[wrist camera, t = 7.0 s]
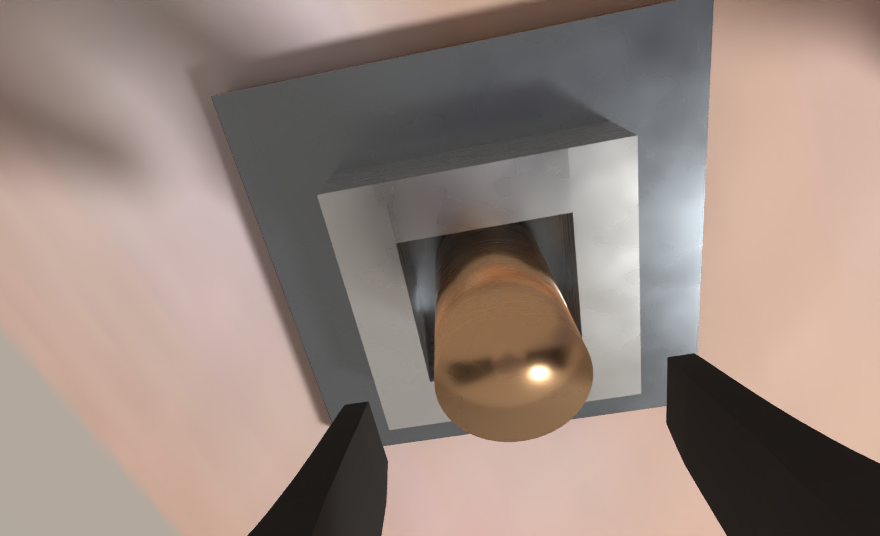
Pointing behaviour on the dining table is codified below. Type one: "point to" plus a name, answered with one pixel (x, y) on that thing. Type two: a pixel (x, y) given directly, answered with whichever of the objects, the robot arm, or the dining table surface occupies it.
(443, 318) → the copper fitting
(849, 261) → the dining table surface
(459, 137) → the flange socket
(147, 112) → the dining table surface
